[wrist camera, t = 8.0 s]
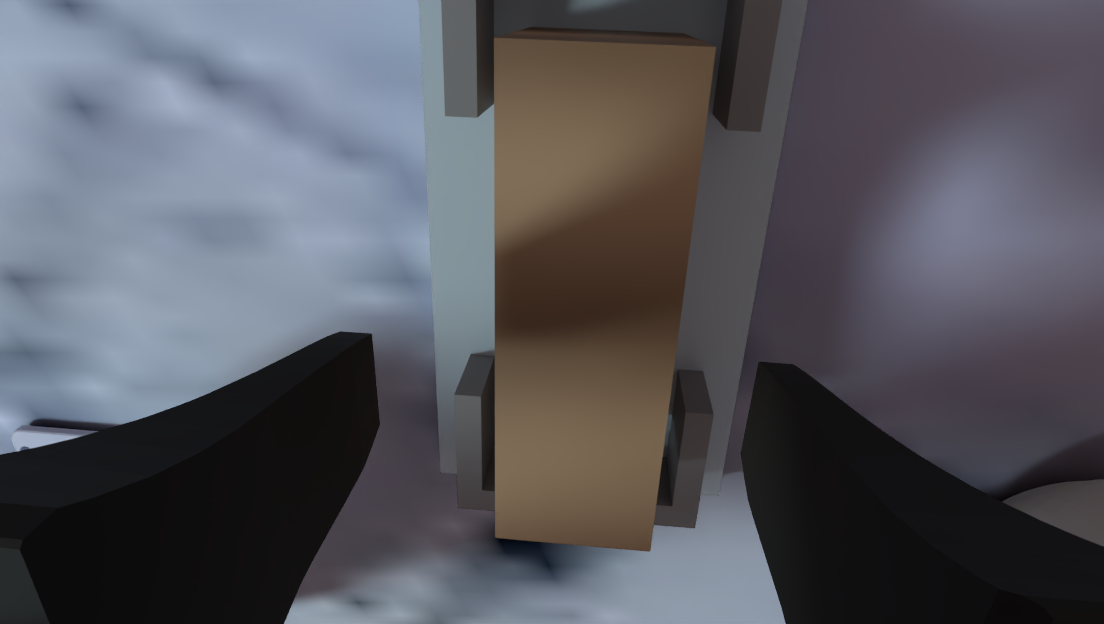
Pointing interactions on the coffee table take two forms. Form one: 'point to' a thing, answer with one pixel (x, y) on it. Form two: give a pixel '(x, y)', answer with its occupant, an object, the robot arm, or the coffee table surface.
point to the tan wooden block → (590, 272)
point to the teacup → (1067, 507)
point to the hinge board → (717, 235)
